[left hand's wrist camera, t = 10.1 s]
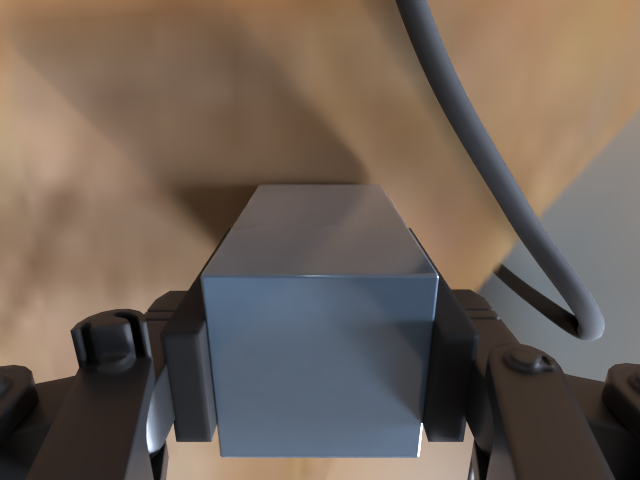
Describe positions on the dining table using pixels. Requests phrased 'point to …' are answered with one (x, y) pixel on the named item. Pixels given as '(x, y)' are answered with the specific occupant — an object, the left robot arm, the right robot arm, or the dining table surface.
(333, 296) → the block
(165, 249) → the dining table surface
